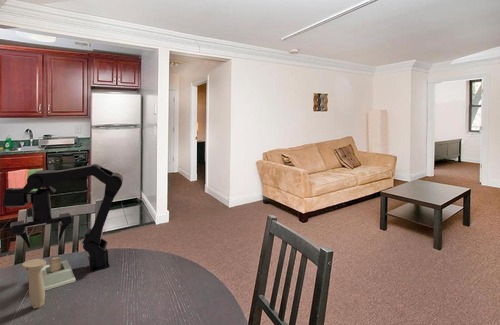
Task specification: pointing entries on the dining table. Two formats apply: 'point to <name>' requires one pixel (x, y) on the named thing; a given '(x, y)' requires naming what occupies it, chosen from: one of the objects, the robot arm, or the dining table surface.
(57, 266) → the dowel
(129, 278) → the dining table surface
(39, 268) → the handle
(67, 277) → the socket plate
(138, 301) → the dining table surface
